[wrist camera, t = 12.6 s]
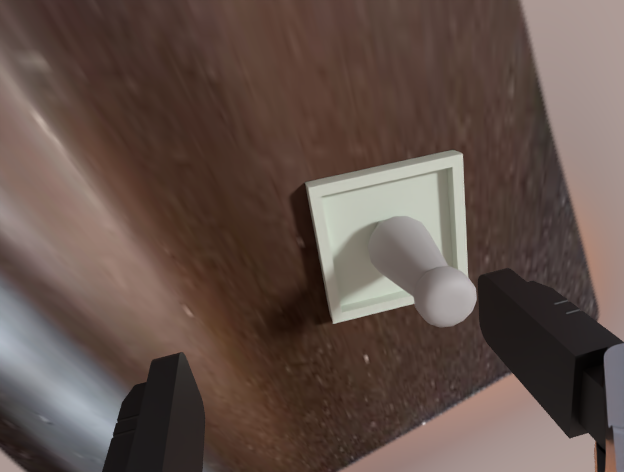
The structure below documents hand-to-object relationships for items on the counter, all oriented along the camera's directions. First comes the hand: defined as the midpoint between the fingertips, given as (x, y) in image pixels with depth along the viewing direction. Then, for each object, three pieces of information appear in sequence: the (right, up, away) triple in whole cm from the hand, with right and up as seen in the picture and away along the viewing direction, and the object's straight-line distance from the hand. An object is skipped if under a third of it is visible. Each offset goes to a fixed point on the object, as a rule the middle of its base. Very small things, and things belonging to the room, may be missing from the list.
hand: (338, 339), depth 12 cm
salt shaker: (+7, +3, +31) cm, 32 cm away
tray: (+7, +3, +32) cm, 33 cm away
